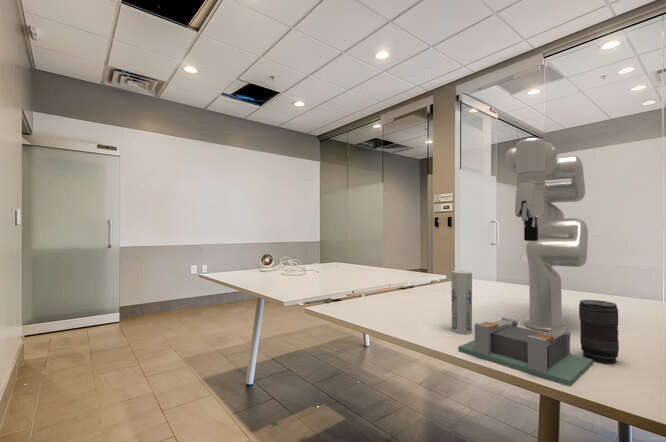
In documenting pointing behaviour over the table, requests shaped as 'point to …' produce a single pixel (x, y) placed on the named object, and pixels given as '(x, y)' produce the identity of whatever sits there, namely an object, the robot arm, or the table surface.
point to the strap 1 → (498, 325)
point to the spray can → (461, 302)
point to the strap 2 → (551, 336)
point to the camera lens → (599, 330)
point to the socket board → (528, 352)
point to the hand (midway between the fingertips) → (531, 240)
